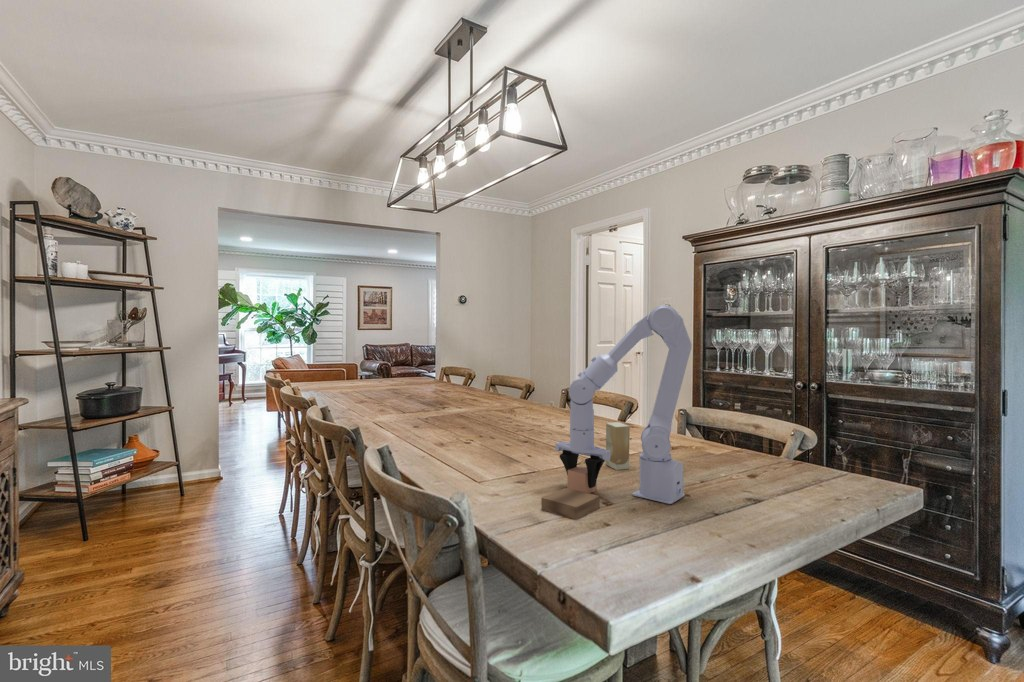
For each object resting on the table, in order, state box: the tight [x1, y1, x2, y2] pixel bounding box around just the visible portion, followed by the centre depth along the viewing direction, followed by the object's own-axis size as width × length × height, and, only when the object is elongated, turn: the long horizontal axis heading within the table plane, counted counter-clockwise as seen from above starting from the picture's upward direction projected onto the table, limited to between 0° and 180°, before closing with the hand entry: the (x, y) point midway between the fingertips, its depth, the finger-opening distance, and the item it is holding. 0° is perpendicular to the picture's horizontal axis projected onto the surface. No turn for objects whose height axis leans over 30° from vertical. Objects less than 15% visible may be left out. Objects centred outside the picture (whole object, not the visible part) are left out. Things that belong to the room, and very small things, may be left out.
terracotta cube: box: [567, 465, 598, 494], centre depth 118 cm, size 5×5×5 cm
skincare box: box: [605, 421, 631, 471], centre depth 139 cm, size 6×4×12 cm
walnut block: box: [541, 487, 601, 521], centre depth 106 cm, size 9×9×3 cm
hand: (582, 484), depth 119 cm, fingers closed on terracotta cube, 5 cm apart
